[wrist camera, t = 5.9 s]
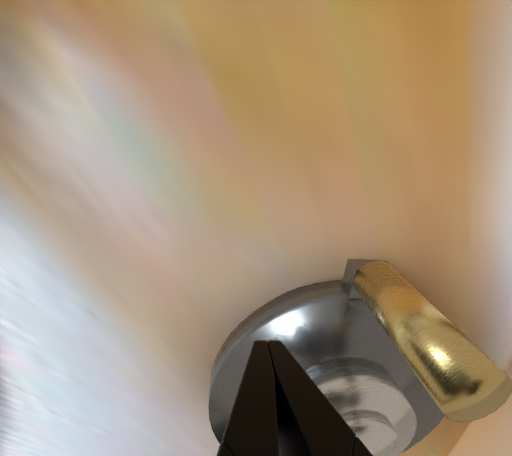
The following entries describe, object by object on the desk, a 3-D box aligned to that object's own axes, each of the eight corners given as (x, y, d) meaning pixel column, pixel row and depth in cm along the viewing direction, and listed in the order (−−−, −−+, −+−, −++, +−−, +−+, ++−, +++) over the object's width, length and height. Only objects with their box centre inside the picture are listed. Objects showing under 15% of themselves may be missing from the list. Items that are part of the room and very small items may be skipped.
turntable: (404, 450, 22) (488, 609, 15) (206, 459, 20) (195, 645, 13) (495, 252, 15) (717, 369, 8) (216, 239, 13) (204, 373, 7)
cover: (379, 437, 18) (404, 491, 16) (272, 443, 17) (280, 500, 15) (410, 356, 16) (446, 404, 13) (286, 357, 15) (298, 409, 12)
